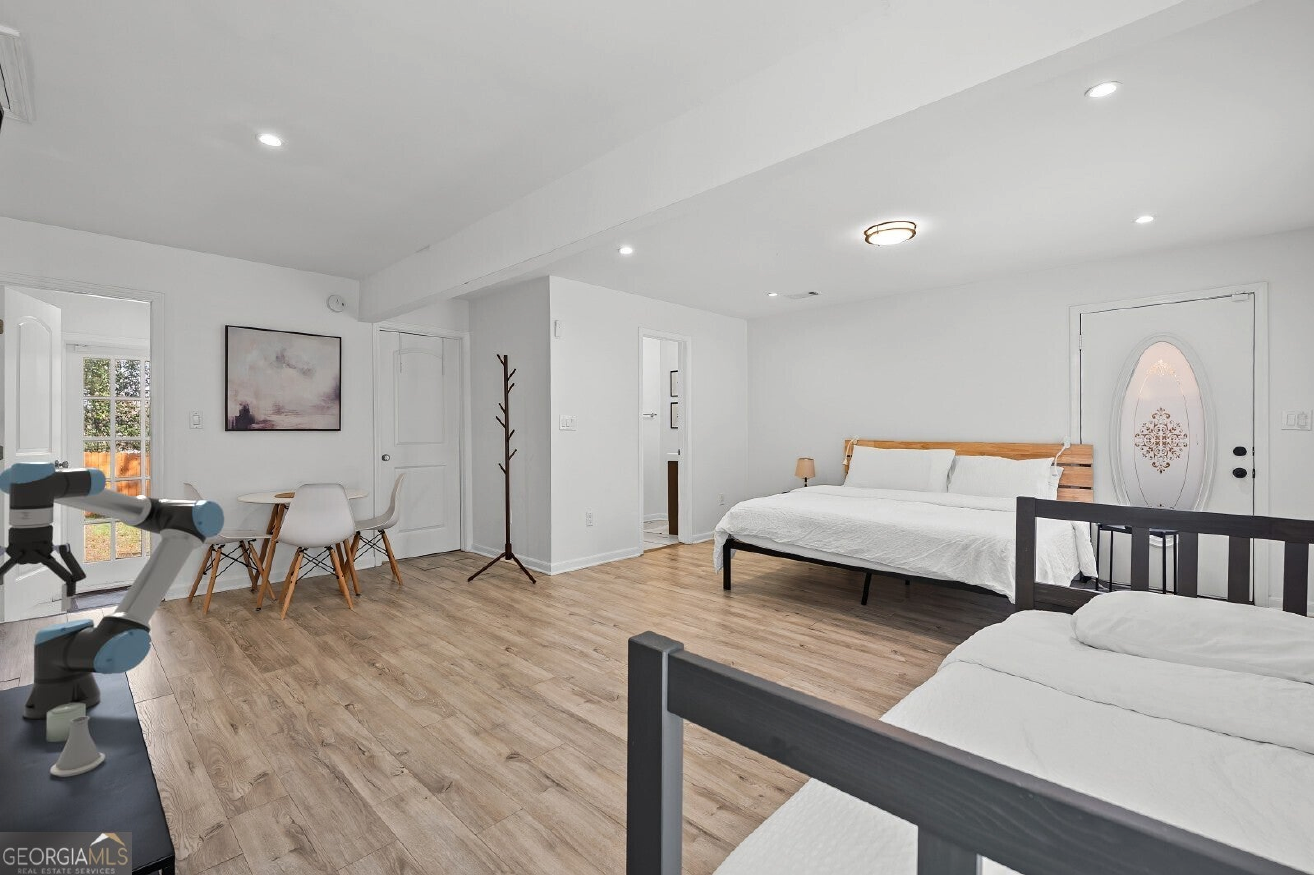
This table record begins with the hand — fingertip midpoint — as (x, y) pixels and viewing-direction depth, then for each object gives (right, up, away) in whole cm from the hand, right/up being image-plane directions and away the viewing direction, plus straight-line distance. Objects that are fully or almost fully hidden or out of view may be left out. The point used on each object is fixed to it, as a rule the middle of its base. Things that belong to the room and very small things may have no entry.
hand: (29, 612), depth 146 cm
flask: (+20, -32, -8) cm, 39 cm away
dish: (+20, -33, -8) cm, 40 cm away
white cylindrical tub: (+3, -33, +6) cm, 34 cm away
